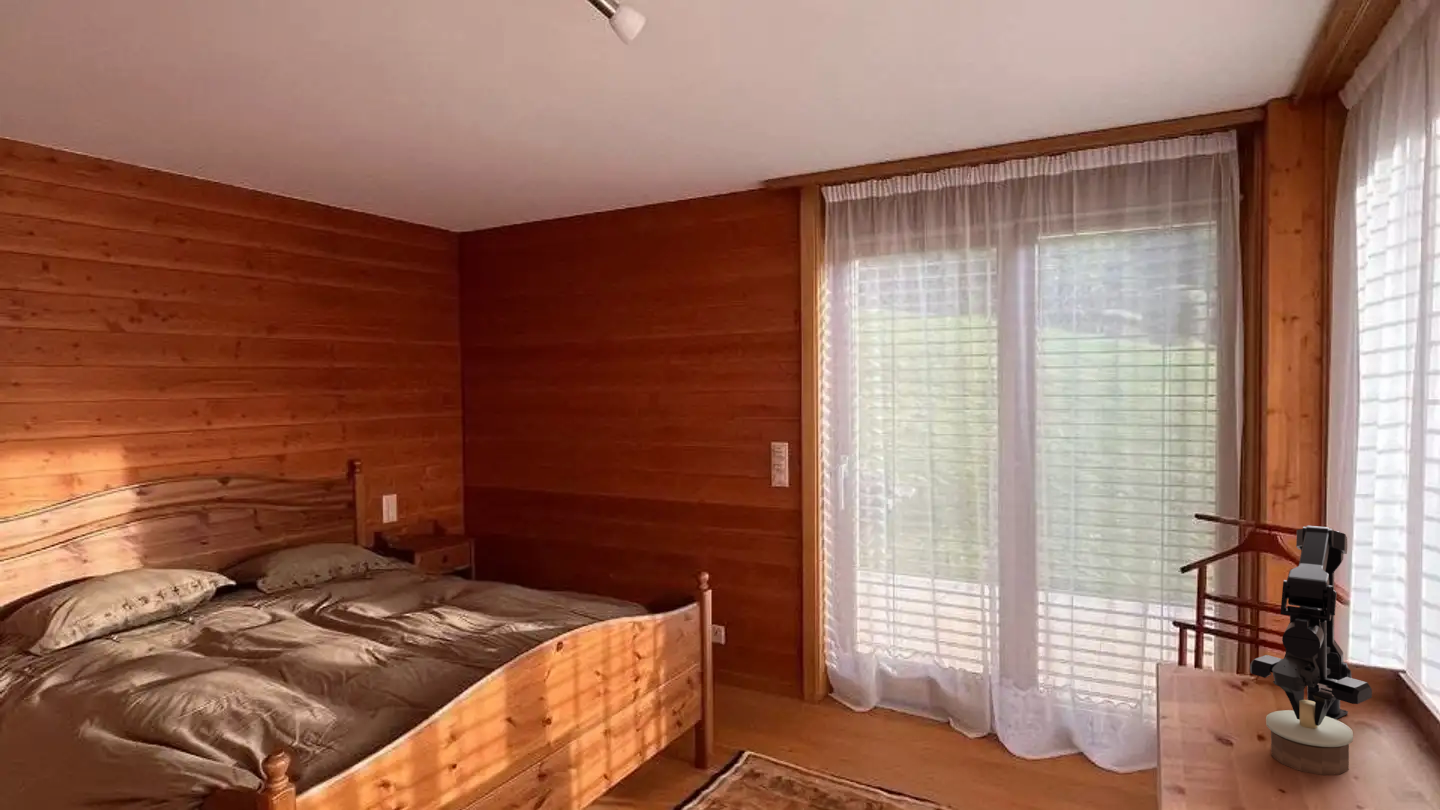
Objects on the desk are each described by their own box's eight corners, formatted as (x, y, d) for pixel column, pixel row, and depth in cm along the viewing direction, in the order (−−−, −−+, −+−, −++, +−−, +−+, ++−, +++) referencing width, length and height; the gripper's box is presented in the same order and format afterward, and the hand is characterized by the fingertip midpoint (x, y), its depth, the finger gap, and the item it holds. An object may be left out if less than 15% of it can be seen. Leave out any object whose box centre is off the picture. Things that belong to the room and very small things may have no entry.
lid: (1289, 716, 170) (1289, 683, 170) (1367, 742, 158) (1367, 706, 158) (1251, 733, 164) (1251, 699, 163) (1329, 761, 152) (1329, 724, 151)
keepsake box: (1292, 739, 169) (1292, 715, 169) (1360, 763, 159) (1360, 737, 158) (1258, 755, 164) (1258, 730, 163) (1327, 781, 153) (1326, 754, 153)
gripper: (1233, 637, 164) (1234, 715, 165) (1341, 665, 148) (1341, 752, 149) (1265, 626, 170) (1266, 701, 170) (1373, 652, 153) (1373, 736, 154)
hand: (1308, 721), depth 161 cm, fingers open, 3 cm apart
